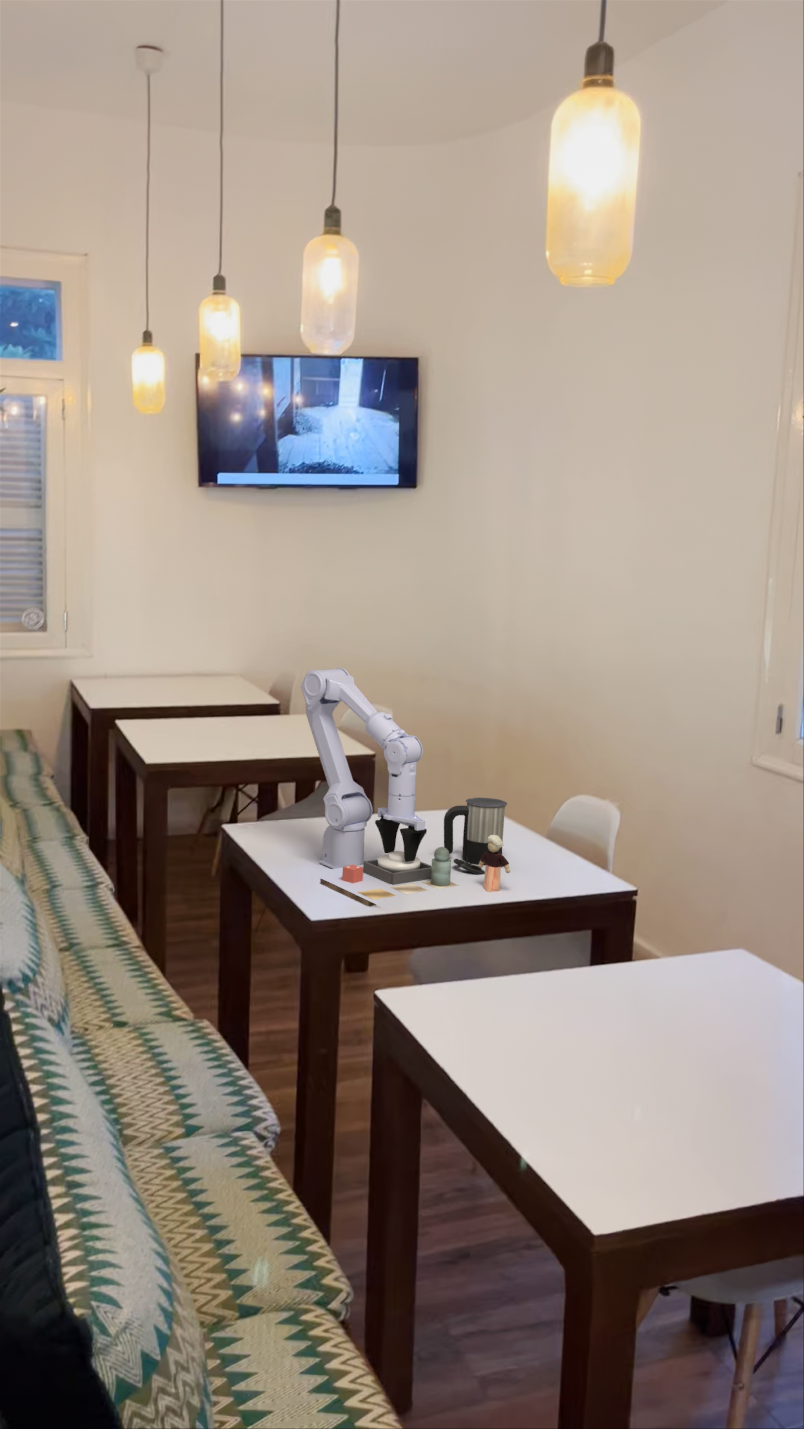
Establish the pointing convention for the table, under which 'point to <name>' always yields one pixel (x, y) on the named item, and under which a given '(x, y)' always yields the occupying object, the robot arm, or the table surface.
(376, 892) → the flat thin brownish pieces
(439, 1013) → the table surface
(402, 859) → the white stepped disc
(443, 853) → the pawn
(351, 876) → the die
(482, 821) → the milk frother
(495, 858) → the grandmother figurine
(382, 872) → the dark grey square tray
